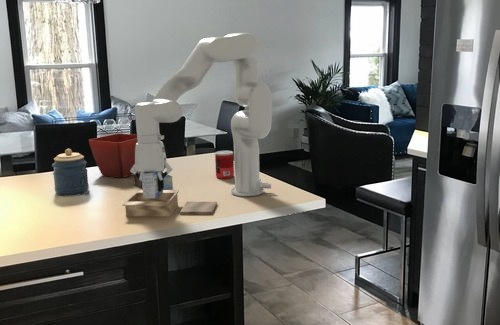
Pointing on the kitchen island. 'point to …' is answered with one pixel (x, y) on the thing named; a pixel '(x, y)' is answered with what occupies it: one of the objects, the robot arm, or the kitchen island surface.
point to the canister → (70, 174)
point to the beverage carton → (167, 179)
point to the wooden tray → (152, 204)
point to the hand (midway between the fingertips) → (153, 190)
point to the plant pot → (114, 154)
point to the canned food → (224, 164)
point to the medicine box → (150, 185)
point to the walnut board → (198, 208)
